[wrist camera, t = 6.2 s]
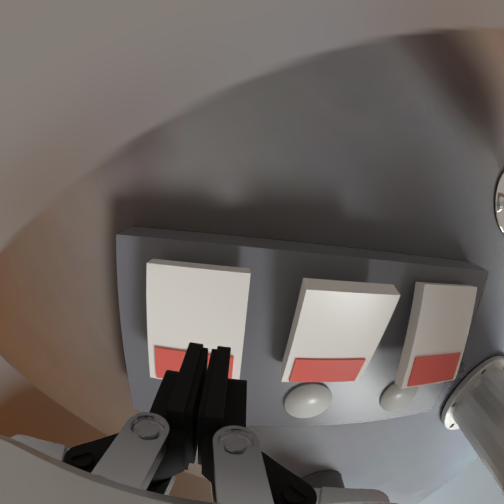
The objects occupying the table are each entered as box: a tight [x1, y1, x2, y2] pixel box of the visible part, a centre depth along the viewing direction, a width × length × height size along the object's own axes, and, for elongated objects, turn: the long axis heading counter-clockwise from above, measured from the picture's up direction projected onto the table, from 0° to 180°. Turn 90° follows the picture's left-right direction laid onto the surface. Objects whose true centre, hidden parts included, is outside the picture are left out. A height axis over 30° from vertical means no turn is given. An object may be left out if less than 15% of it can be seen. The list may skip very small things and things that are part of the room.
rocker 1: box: [146, 259, 251, 379], centre depth 17 cm, size 6×8×1 cm
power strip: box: [116, 226, 488, 426], centre depth 22 cm, size 35×16×3 cm, turn 84°
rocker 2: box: [280, 278, 400, 382], centre depth 18 cm, size 6×8×1 cm
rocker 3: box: [394, 282, 477, 389], centre depth 18 cm, size 6×8×1 cm
